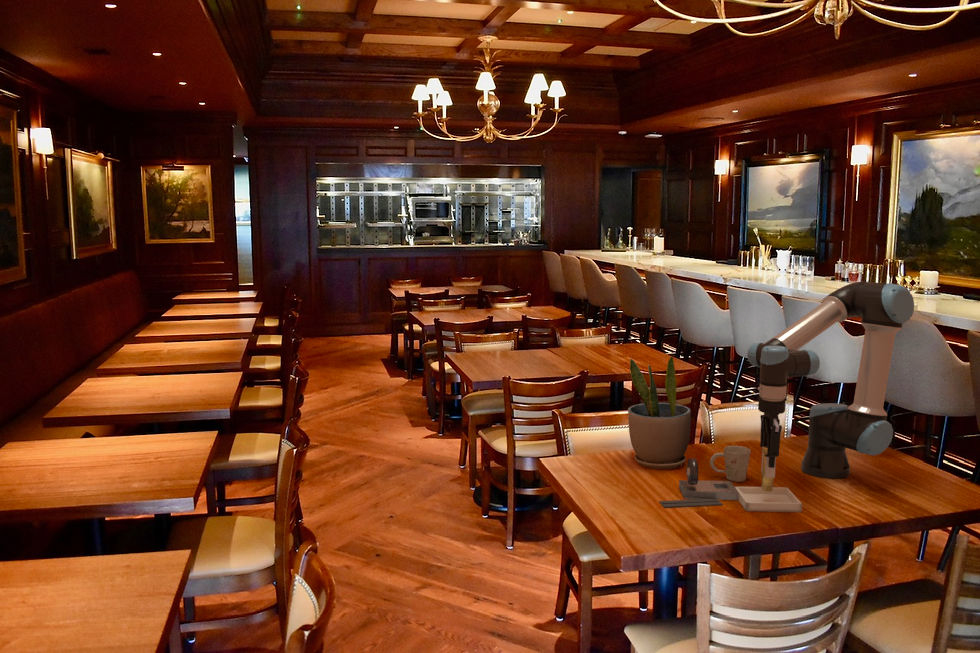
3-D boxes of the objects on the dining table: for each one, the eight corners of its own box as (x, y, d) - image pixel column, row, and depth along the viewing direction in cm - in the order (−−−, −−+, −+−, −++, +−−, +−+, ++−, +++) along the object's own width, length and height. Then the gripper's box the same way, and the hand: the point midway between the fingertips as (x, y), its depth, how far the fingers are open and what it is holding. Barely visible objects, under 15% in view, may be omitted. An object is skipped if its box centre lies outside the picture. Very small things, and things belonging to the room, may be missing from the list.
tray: (786, 495, 245) (787, 487, 245) (801, 512, 231) (802, 503, 231) (734, 494, 246) (734, 486, 245) (745, 511, 232) (746, 502, 232)
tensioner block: (730, 488, 251) (731, 455, 249) (738, 500, 241) (739, 465, 239) (679, 487, 252) (680, 454, 250) (684, 499, 242) (686, 464, 240)
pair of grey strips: (716, 499, 241) (716, 498, 241) (722, 505, 237) (722, 504, 237) (659, 502, 239) (659, 501, 239) (664, 507, 235) (664, 506, 234)
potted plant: (614, 462, 278) (616, 349, 272) (652, 450, 291) (655, 342, 286) (663, 477, 262) (666, 357, 256) (701, 463, 276) (705, 350, 270)
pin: (772, 487, 240) (774, 445, 238) (776, 492, 236) (778, 449, 234) (758, 487, 240) (760, 445, 238) (761, 491, 236) (764, 449, 234)
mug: (750, 483, 255) (752, 453, 254) (710, 481, 258) (711, 451, 256) (747, 475, 263) (749, 446, 262) (708, 473, 266) (709, 444, 264)
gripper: (751, 392, 242) (748, 466, 245) (767, 404, 226) (762, 484, 229) (776, 392, 242) (772, 467, 245) (793, 405, 226) (789, 484, 229)
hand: (767, 475), depth 237 cm, fingers closed on pin, 3 cm apart
